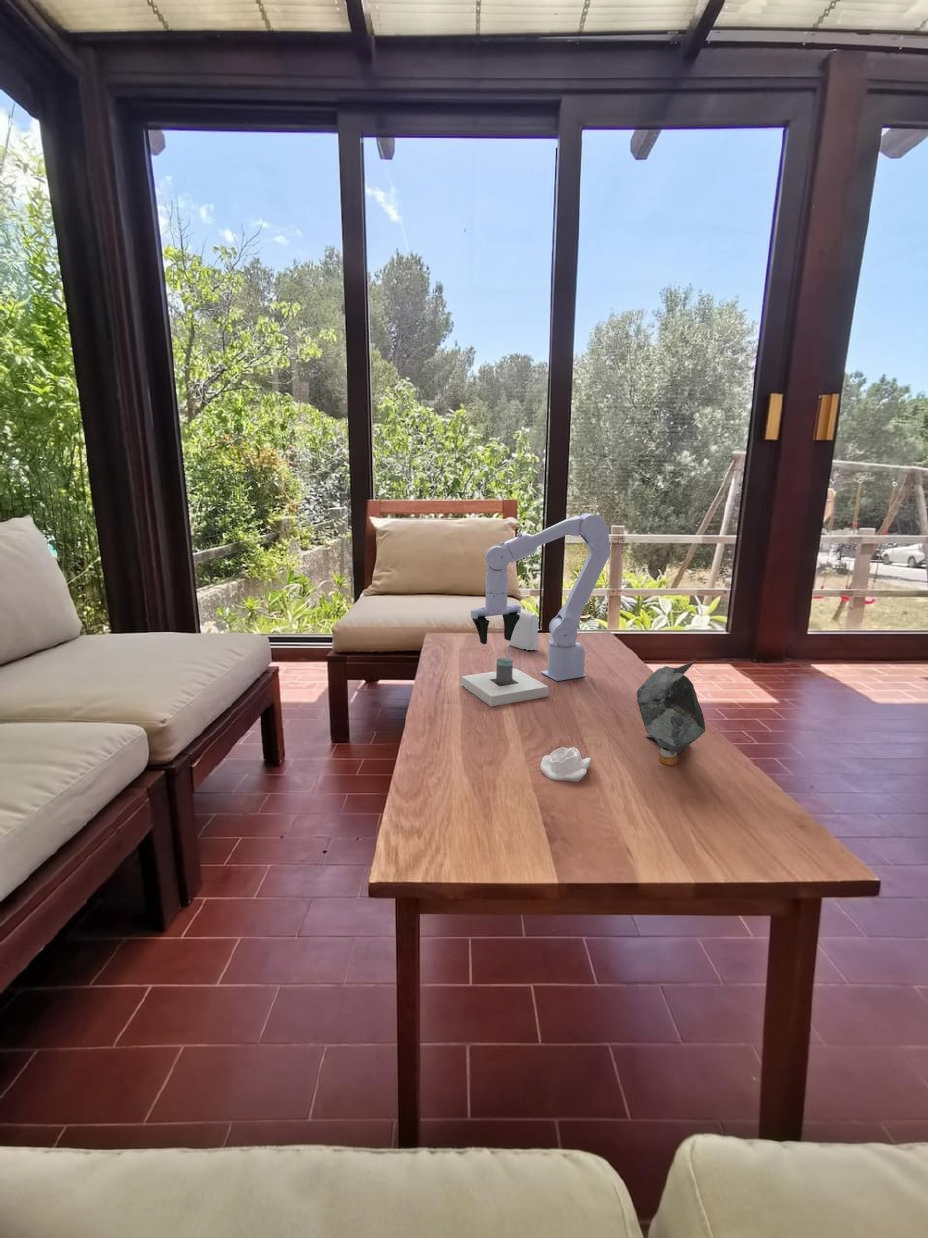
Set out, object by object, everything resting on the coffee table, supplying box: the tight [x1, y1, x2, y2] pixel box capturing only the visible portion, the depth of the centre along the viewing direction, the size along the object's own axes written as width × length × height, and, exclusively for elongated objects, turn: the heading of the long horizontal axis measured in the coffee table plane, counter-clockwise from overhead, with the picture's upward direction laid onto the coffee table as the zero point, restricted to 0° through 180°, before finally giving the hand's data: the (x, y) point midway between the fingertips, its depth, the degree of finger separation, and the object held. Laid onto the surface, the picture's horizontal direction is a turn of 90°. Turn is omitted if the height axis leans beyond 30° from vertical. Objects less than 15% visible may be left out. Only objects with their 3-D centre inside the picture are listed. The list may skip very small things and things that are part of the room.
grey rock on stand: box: [636, 659, 706, 766], centre depth 113 cm, size 14×15×18 cm
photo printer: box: [508, 608, 539, 651], centre depth 187 cm, size 10×4×12 cm, turn 39°
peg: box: [495, 657, 514, 686], centre depth 149 cm, size 4×4×8 cm
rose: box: [540, 746, 593, 783], centre depth 109 cm, size 10×4×10 cm
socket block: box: [461, 667, 550, 707], centre depth 149 cm, size 16×16×2 cm
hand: (495, 641), depth 160 cm, fingers open, 7 cm apart
